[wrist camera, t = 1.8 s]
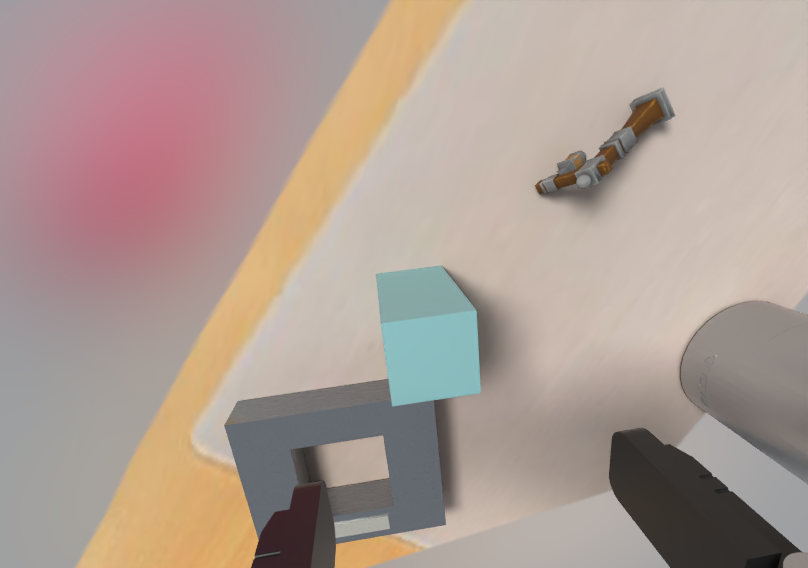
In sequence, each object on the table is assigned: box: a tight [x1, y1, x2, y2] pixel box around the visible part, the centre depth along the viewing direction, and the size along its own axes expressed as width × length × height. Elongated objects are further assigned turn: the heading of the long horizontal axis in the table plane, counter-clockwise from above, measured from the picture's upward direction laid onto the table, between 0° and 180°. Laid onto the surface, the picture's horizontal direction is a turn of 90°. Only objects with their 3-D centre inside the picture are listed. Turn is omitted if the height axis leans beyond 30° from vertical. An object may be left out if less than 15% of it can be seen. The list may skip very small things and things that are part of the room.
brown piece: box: [535, 87, 675, 194], centre depth 21 cm, size 2×8×4 cm, turn 126°
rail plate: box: [224, 379, 446, 544], centre depth 26 cm, size 13×11×3 cm
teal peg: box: [376, 266, 481, 406], centre depth 21 cm, size 4×4×8 cm
